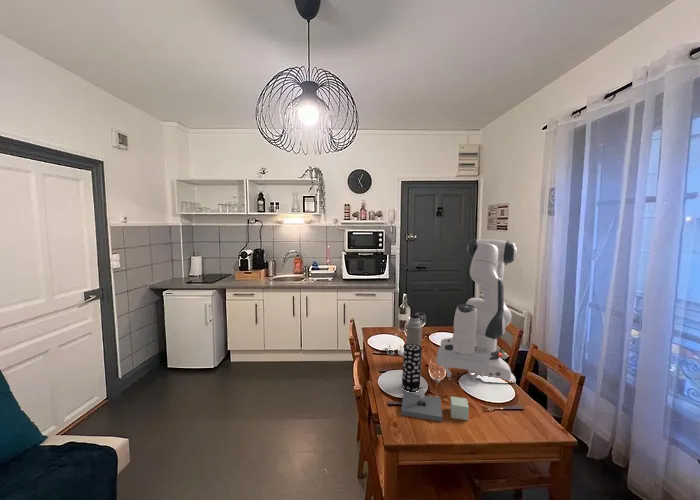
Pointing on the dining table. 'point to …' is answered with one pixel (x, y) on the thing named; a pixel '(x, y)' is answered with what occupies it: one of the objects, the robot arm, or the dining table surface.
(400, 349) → the salt and pepper shakers
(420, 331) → the thermos bottle
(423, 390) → the steel post
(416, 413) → the charcoal board
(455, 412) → the sage green cube
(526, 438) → the dining table surface
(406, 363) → the white-spotted black cylinder
